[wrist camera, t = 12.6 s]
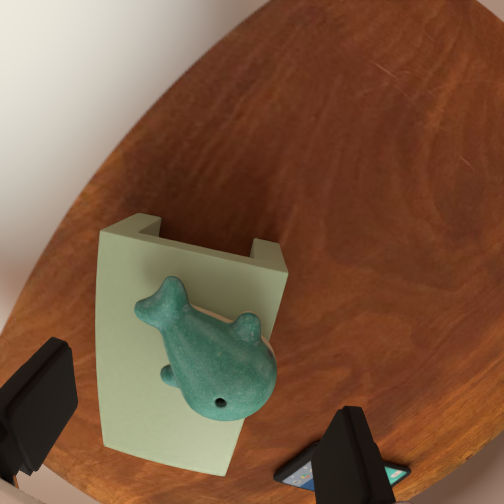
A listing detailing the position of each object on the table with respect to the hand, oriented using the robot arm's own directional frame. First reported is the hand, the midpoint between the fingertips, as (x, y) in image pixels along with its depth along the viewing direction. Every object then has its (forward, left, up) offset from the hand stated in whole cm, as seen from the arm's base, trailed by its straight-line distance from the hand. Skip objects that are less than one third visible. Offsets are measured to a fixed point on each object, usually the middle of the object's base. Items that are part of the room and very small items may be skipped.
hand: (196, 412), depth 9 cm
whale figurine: (0, 0, -6) cm, 6 cm away
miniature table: (+4, -2, -11) cm, 12 cm away
